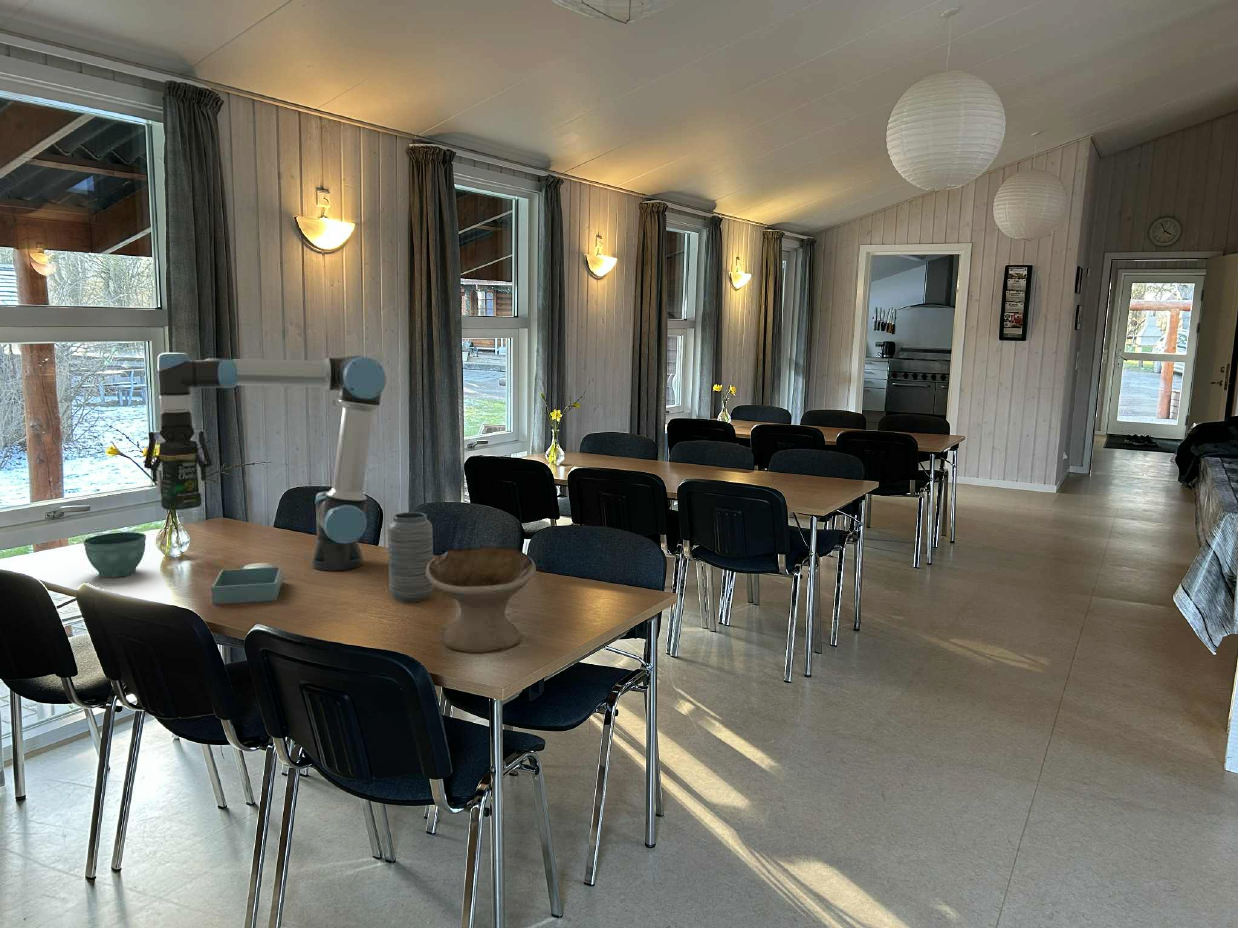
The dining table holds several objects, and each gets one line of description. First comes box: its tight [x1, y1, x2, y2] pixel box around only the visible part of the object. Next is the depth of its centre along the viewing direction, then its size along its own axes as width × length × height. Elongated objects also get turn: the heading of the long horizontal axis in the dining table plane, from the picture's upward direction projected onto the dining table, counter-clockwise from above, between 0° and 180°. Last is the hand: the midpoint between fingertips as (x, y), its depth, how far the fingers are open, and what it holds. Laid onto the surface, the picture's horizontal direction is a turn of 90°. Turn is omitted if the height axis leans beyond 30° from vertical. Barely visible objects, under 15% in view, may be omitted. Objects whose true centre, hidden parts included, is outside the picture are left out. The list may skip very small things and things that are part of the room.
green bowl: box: [82, 531, 147, 579], centre depth 273 cm, size 16×16×11 cm
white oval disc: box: [242, 562, 274, 569], centre depth 272 cm, size 8×8×4 cm
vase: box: [387, 511, 434, 604], centre depth 252 cm, size 12×12×23 cm
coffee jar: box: [158, 439, 202, 511], centre depth 253 cm, size 10×8×19 cm
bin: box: [211, 566, 283, 605], centre depth 256 cm, size 16×18×5 cm
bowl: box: [426, 546, 537, 654], centre depth 219 cm, size 26×25×20 cm
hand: (180, 492), depth 254 cm, fingers closed on coffee jar, 9 cm apart
